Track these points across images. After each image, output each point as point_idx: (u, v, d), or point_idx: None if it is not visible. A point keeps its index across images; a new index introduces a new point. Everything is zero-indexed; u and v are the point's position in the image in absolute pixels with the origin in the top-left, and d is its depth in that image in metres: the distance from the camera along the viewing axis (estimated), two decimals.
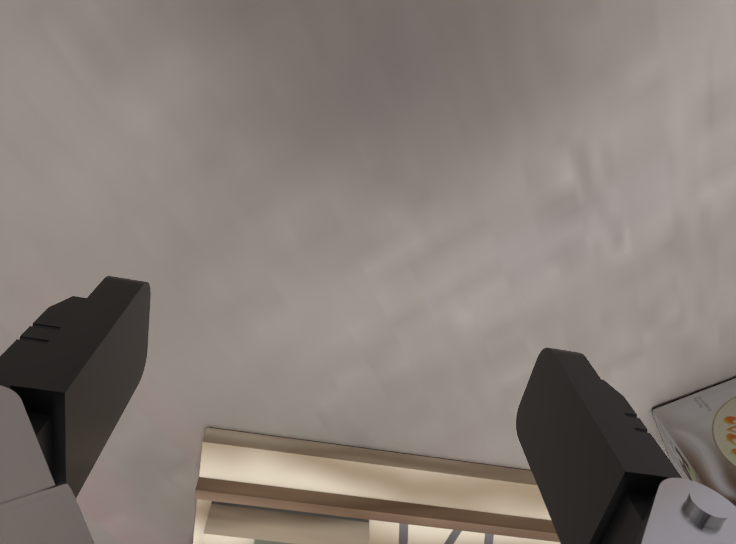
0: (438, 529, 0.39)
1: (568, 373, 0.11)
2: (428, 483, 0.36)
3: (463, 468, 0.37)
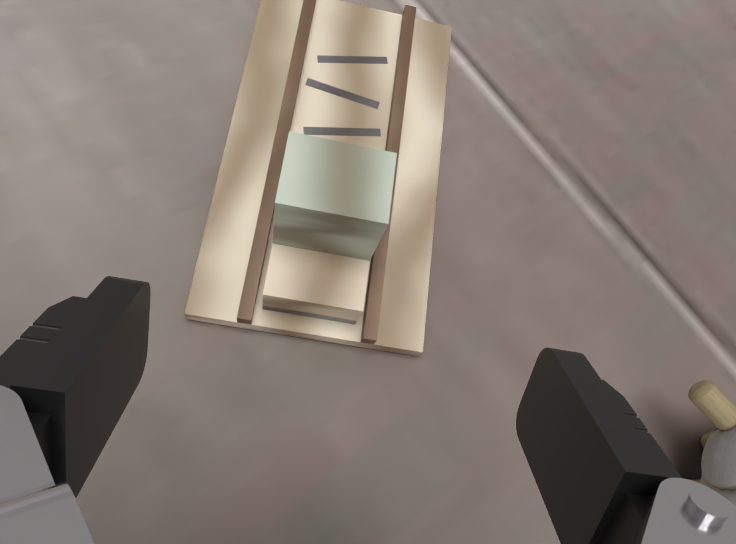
0: (317, 101, 0.39)
1: (568, 373, 0.11)
2: (250, 110, 0.38)
3: None
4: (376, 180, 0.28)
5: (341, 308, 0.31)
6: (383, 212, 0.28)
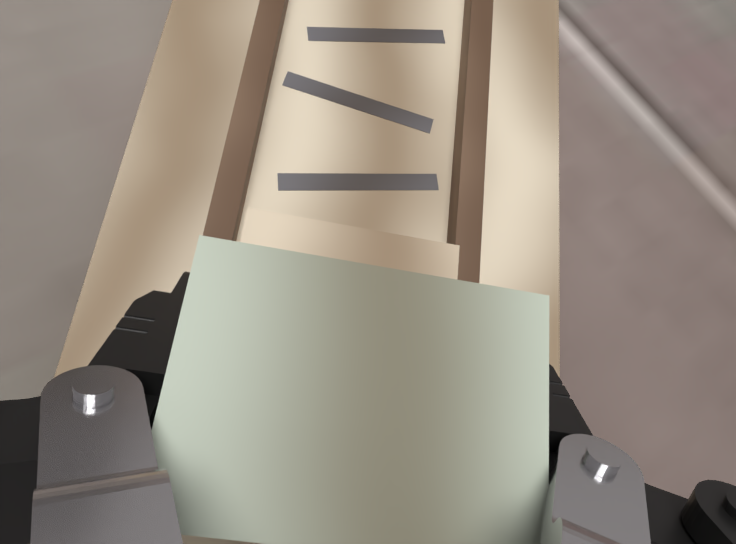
0: (306, 118, 0.19)
1: None
2: (164, 139, 0.18)
3: None
4: (495, 400, 0.08)
5: None
6: (526, 527, 0.08)
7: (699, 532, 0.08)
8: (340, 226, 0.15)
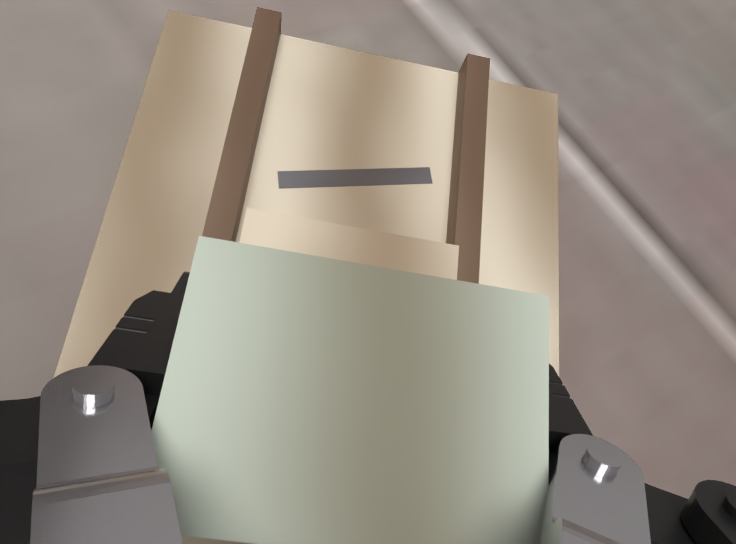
0: None
1: None
2: (111, 321, 0.16)
3: None
4: (495, 401, 0.08)
5: None
6: (526, 527, 0.08)
7: (699, 532, 0.08)
8: (339, 226, 0.15)
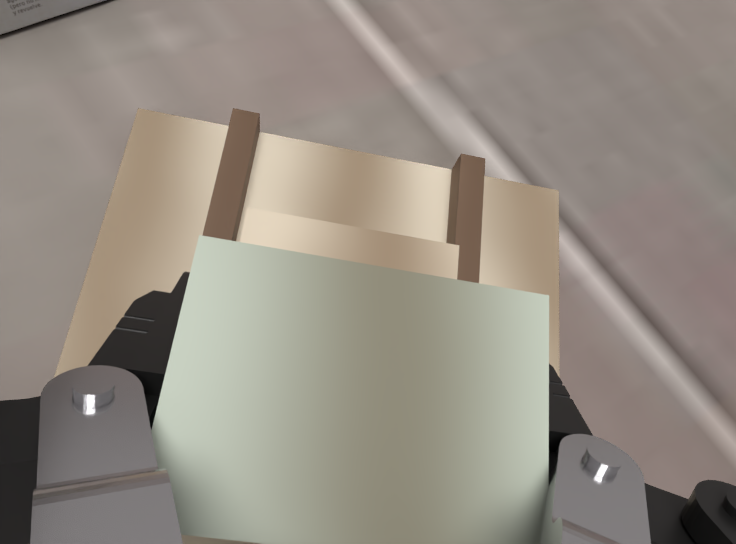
0: None
1: None
2: None
3: None
4: (495, 400, 0.08)
5: None
6: (526, 526, 0.08)
7: (699, 532, 0.08)
8: (340, 226, 0.15)
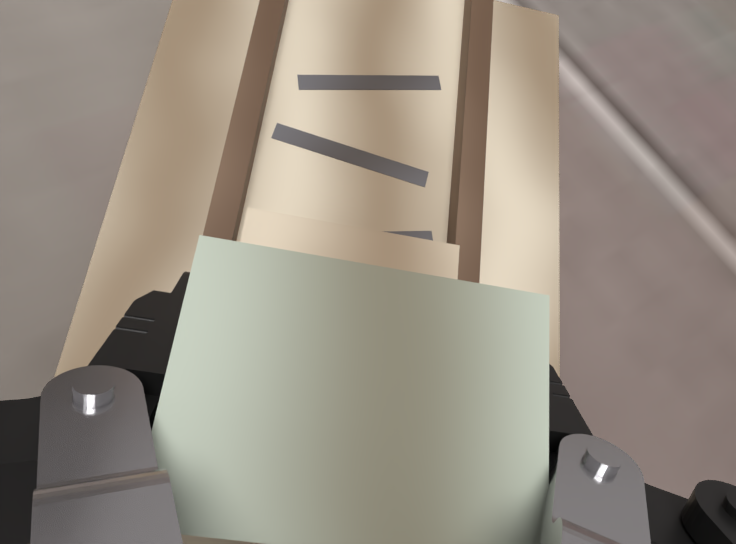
0: (296, 173, 0.18)
1: None
2: (147, 199, 0.17)
3: None
4: (495, 400, 0.08)
5: None
6: (526, 526, 0.08)
7: (699, 532, 0.08)
8: (340, 226, 0.15)
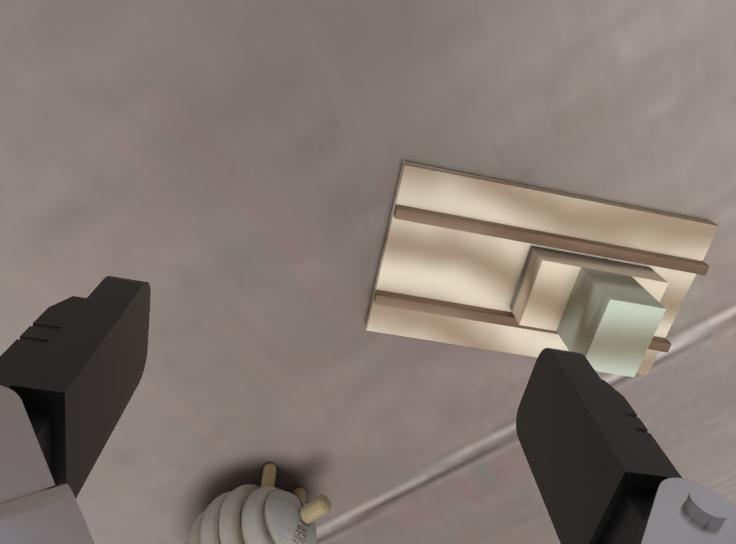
0: None
1: (568, 373, 0.11)
2: (583, 213, 0.44)
3: (611, 203, 0.44)
4: (615, 363, 0.40)
5: (523, 310, 0.44)
6: None
7: None
8: None
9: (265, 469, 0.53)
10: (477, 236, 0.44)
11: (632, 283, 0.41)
